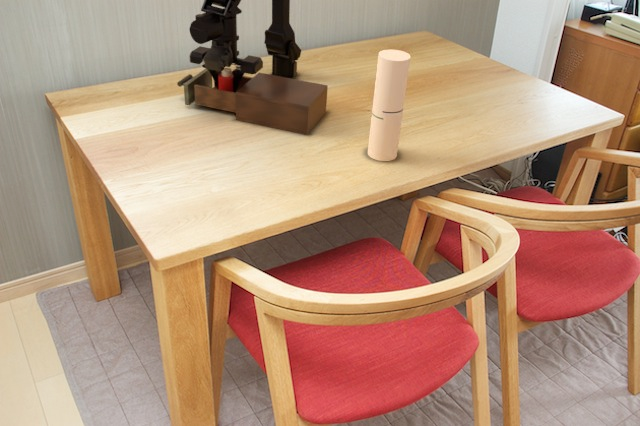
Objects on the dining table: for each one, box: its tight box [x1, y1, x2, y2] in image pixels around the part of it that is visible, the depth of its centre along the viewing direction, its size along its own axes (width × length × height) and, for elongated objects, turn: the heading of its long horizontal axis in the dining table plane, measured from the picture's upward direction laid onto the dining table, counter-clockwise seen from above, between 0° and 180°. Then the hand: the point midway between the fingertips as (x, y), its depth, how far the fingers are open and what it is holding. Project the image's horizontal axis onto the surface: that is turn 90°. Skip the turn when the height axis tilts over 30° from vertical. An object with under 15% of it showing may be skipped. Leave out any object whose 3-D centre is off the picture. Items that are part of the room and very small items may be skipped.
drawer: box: [177, 68, 253, 114], centre depth 176 cm, size 23×14×6 cm, turn 71°
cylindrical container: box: [367, 49, 411, 162], centre depth 153 cm, size 7×7×25 cm
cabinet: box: [235, 72, 328, 136], centre depth 172 cm, size 20×15×8 cm
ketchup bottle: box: [218, 67, 233, 92], centre depth 175 cm, size 4×4×8 cm
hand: (226, 90), depth 176 cm, fingers closed on ketchup bottle, 4 cm apart
